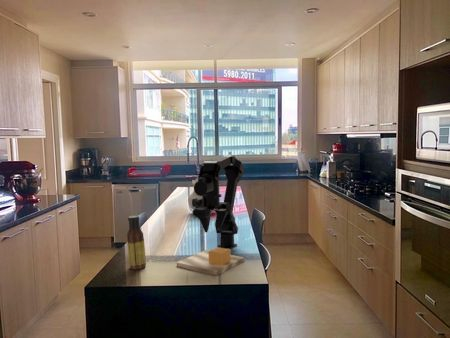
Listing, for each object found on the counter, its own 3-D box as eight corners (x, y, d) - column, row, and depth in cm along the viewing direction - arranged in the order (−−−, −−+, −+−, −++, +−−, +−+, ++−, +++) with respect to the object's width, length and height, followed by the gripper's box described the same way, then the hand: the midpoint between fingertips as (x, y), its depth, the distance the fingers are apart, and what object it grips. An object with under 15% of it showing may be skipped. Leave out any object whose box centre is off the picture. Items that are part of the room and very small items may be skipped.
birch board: (205, 253, 155) (205, 241, 155) (243, 261, 144) (243, 248, 144) (176, 266, 140) (176, 253, 140) (216, 275, 129) (215, 262, 129)
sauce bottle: (147, 264, 143) (145, 214, 142) (144, 270, 137) (142, 217, 135) (130, 265, 143) (128, 214, 141) (126, 270, 137) (124, 218, 135)
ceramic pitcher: (216, 218, 228) (218, 178, 226) (185, 216, 228) (186, 176, 226) (217, 211, 250) (219, 175, 248) (189, 210, 250) (190, 173, 248)
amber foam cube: (218, 258, 144) (218, 247, 143) (230, 261, 140) (230, 249, 140) (208, 262, 139) (208, 251, 138) (221, 265, 135) (221, 253, 135)
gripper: (210, 188, 161) (211, 223, 163) (181, 194, 146) (183, 232, 147) (231, 189, 155) (232, 226, 156) (203, 196, 140) (204, 236, 141)
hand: (213, 229), depth 150 cm, fingers open, 9 cm apart
